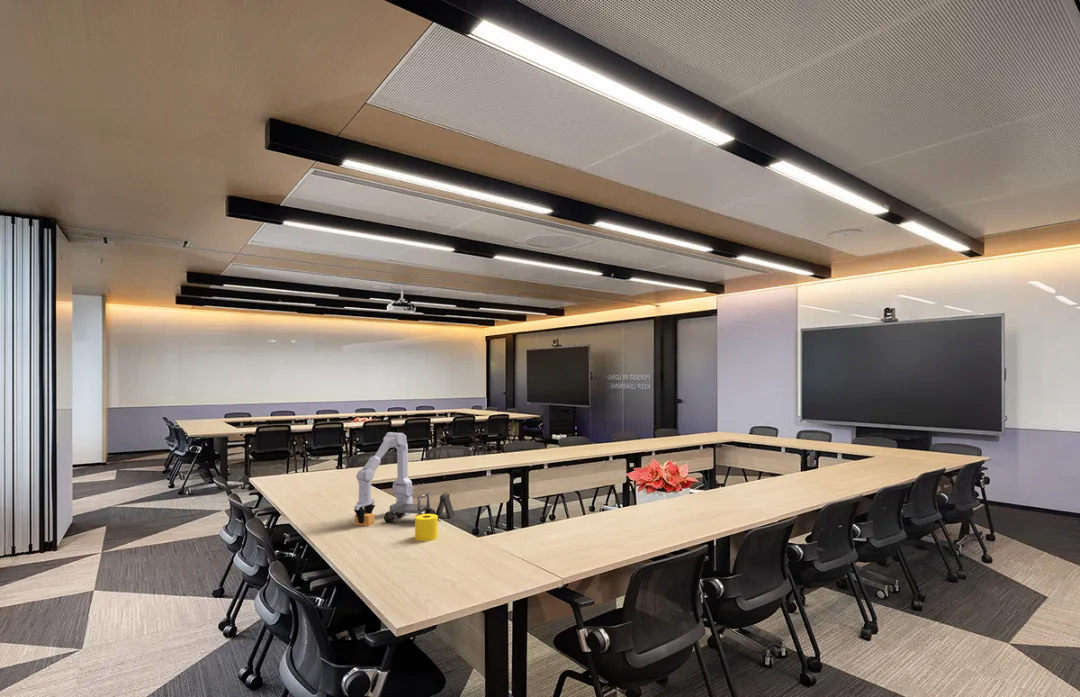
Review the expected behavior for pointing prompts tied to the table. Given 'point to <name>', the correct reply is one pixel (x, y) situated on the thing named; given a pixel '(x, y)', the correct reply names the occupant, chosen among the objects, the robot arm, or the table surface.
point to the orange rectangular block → (365, 520)
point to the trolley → (408, 509)
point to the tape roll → (426, 527)
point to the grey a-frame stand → (448, 507)
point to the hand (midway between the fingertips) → (364, 521)
